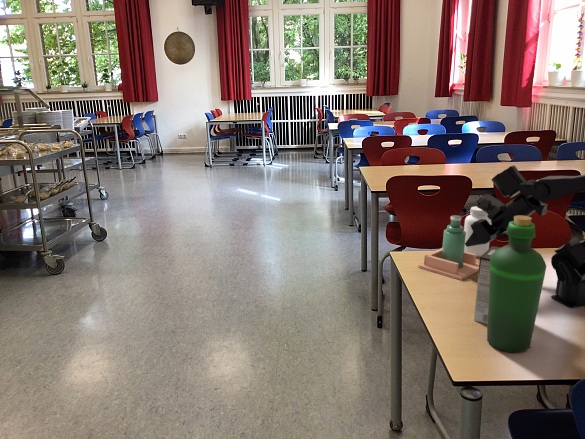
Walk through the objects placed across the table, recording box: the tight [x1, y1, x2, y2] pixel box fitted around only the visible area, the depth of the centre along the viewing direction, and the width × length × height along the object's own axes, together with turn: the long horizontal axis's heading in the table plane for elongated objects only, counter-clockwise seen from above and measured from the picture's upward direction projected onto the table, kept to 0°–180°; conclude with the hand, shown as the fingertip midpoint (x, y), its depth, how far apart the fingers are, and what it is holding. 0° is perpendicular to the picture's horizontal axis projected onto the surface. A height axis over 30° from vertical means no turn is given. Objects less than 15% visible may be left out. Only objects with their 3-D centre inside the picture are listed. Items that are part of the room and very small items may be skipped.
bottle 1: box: [442, 215, 466, 269], centre depth 145 cm, size 6×6×15 cm
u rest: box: [418, 247, 479, 281], centre depth 147 cm, size 14×14×4 cm
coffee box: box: [473, 245, 501, 325], centre depth 114 cm, size 9×6×16 cm
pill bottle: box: [463, 205, 492, 258], centre depth 157 cm, size 8×8×15 cm
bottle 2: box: [486, 215, 547, 353], centre depth 101 cm, size 11×11×28 cm
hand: (474, 241), depth 140 cm, fingers open, 9 cm apart
